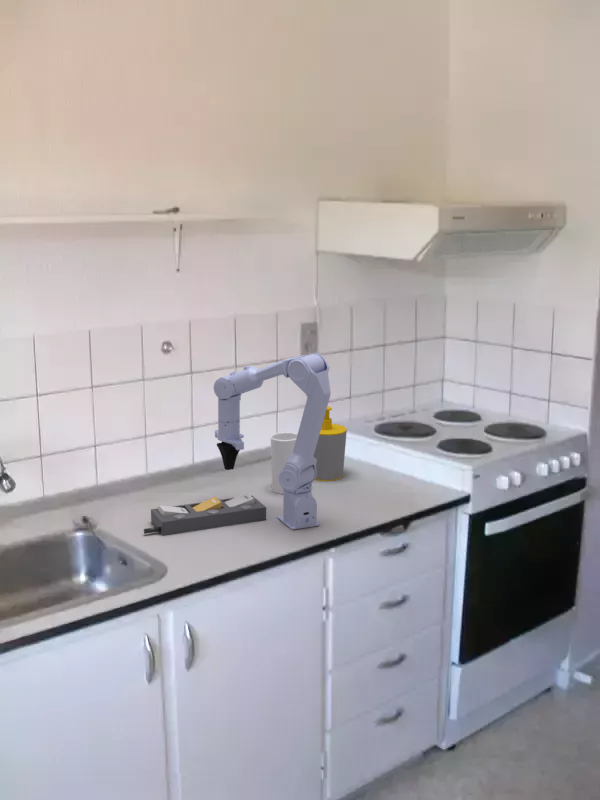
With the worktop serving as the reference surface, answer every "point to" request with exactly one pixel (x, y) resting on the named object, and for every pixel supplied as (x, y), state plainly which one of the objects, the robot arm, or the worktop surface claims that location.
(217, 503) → the rocker mid
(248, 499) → the rocker
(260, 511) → the power strip
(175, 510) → the block
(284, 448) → the cup
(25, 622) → the worktop surface
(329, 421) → the soap bottle
